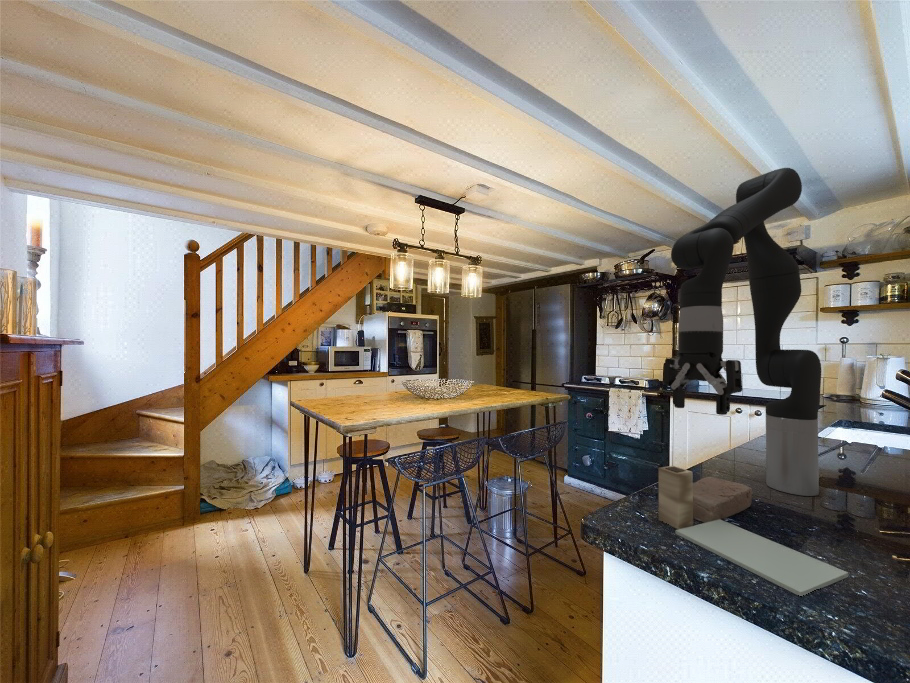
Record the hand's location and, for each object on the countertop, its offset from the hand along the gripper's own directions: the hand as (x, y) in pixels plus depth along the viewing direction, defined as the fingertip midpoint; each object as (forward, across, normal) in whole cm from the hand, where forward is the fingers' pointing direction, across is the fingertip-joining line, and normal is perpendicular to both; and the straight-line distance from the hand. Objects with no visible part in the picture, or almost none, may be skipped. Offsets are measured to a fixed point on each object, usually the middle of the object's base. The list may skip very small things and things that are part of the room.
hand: (699, 410), depth 74 cm
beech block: (+21, 0, +7) cm, 22 cm away
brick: (+21, +1, -6) cm, 22 cm away
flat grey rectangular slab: (+21, -12, +5) cm, 25 cm away
